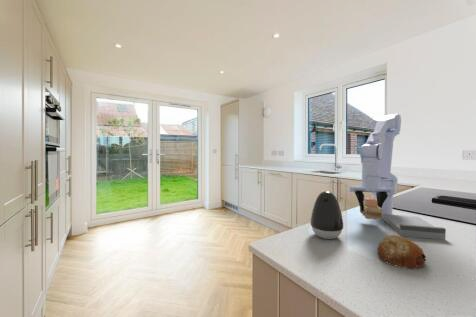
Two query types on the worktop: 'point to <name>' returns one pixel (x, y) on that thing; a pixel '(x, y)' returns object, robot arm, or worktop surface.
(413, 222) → the dock
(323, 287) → the worktop surface
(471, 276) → the worktop surface
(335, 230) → the dark grey egg shape
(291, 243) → the worktop surface
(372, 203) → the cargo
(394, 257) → the brown rounded lump
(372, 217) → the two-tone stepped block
